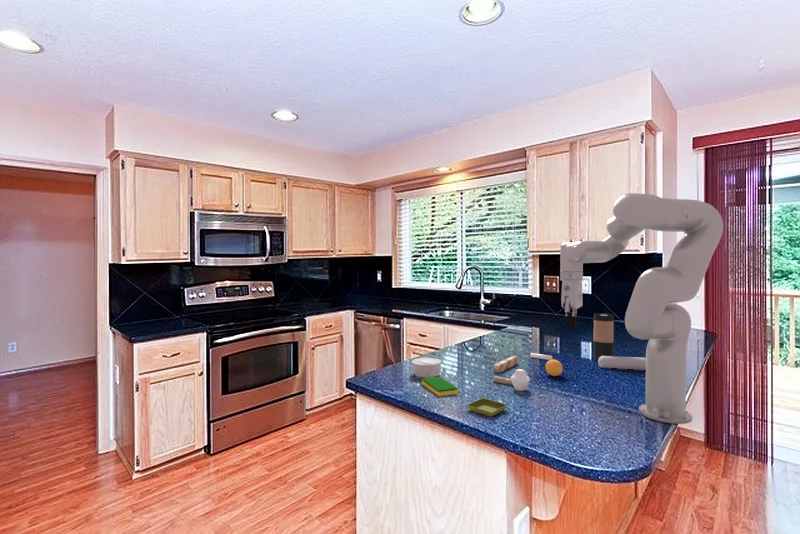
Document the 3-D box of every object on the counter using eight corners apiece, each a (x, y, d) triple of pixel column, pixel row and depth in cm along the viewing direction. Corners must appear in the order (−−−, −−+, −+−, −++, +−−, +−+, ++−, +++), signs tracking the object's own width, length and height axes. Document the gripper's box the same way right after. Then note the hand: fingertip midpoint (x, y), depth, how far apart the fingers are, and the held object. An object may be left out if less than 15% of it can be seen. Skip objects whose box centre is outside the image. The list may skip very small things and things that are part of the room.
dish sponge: (438, 397, 133) (438, 390, 133) (421, 385, 146) (421, 378, 146) (458, 395, 135) (458, 387, 135) (439, 383, 148) (439, 376, 148)
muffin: (521, 385, 143) (521, 365, 143) (533, 390, 137) (533, 370, 137) (506, 387, 141) (507, 367, 140) (518, 393, 135) (518, 372, 135)
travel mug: (589, 360, 177) (589, 313, 176) (601, 358, 180) (602, 312, 180) (604, 364, 170) (605, 316, 170) (617, 362, 173) (617, 314, 173)
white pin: (550, 358, 176) (529, 354, 182) (551, 361, 177) (530, 358, 183) (551, 354, 177) (531, 351, 183) (552, 358, 178) (532, 355, 184)
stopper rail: (498, 373, 158) (498, 365, 158) (493, 372, 159) (493, 364, 159) (517, 363, 172) (517, 356, 172) (513, 362, 173) (513, 355, 173)
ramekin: (409, 378, 153) (409, 363, 153) (415, 369, 164) (415, 356, 164) (439, 380, 150) (439, 365, 150) (443, 371, 161) (443, 358, 161)
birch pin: (517, 386, 141) (492, 381, 147) (519, 387, 143) (495, 382, 148) (517, 380, 142) (493, 375, 147) (520, 381, 143) (496, 376, 149)
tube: (599, 359, 163) (671, 363, 156) (597, 352, 168) (666, 355, 161) (598, 371, 165) (669, 375, 158) (596, 363, 170) (665, 367, 163)
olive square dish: (466, 411, 120) (466, 404, 120) (483, 404, 126) (483, 397, 126) (491, 420, 114) (491, 412, 114) (508, 411, 120) (508, 404, 120)
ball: (541, 359, 155) (543, 376, 153) (557, 359, 151) (559, 376, 150) (548, 359, 159) (550, 375, 158) (564, 359, 155) (565, 375, 154)
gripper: (576, 277, 141) (575, 331, 141) (588, 275, 152) (587, 325, 153) (553, 277, 145) (553, 328, 146) (567, 275, 157) (566, 323, 157)
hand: (571, 326), depth 149 cm, fingers closed
